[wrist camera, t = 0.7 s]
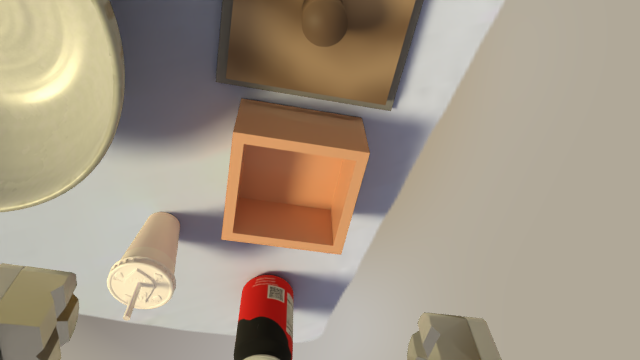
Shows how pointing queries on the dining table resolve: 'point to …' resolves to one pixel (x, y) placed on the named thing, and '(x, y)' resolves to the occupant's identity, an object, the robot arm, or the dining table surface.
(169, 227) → the smoothie
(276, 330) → the beverage can
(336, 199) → the terracotta open box
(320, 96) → the rubber mat
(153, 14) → the dining table surface
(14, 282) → the robot arm
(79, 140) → the decorative bowl
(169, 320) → the dining table surface
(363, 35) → the walnut lid
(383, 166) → the dining table surface
